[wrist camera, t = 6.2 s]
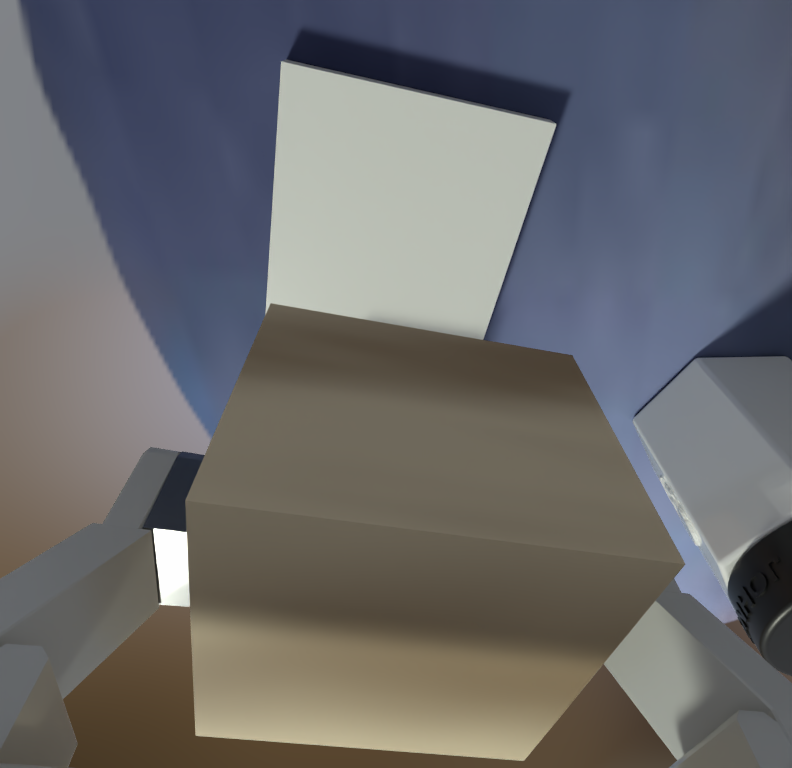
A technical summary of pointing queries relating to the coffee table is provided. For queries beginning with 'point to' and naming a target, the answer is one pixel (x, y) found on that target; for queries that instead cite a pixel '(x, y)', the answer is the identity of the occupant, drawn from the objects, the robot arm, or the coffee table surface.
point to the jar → (733, 482)
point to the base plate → (396, 200)
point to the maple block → (410, 542)
